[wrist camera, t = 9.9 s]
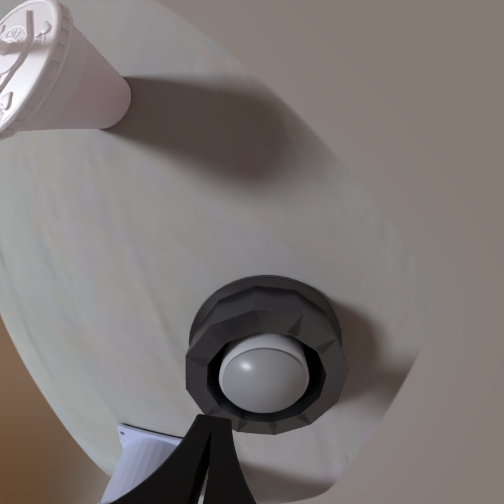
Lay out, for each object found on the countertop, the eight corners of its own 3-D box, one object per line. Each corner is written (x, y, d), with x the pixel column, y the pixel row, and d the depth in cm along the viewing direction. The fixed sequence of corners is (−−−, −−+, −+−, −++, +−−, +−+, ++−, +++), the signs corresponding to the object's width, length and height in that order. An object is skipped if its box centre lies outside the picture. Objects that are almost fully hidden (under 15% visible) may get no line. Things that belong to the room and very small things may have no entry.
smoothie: (167, 68, 15) (25, -68, 1) (126, 161, 16) (-85, 160, 3) (92, 53, 15) (-52, -23, 1) (57, 136, 16) (-115, 129, 2)
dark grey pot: (321, 403, 20) (329, 440, 16) (190, 391, 20) (178, 427, 16) (354, 283, 18) (376, 310, 14) (193, 265, 18) (176, 289, 14)
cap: (296, 382, 19) (300, 416, 16) (223, 377, 19) (217, 411, 16) (308, 320, 18) (317, 350, 14) (227, 313, 18) (220, 342, 14)
